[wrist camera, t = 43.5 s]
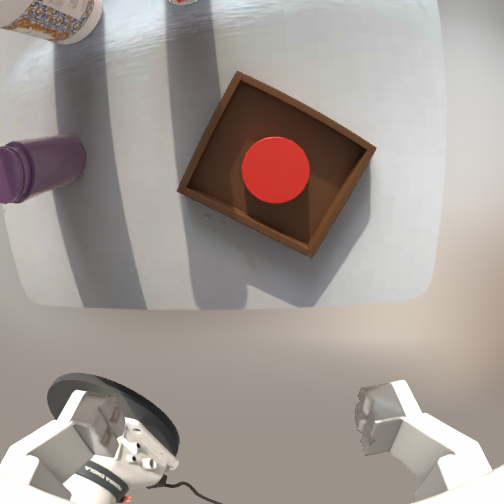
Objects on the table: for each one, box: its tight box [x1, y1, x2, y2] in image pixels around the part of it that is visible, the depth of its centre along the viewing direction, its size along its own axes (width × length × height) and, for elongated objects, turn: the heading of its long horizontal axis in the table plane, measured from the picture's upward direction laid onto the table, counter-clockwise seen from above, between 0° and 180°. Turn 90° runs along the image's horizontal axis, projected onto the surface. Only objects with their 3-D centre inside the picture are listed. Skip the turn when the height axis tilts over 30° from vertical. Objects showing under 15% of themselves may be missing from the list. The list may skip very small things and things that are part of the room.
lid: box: [241, 136, 310, 203], centre depth 28 cm, size 6×6×2 cm
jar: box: [0, 134, 85, 204], centre depth 24 cm, size 6×6×11 cm
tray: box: [177, 71, 376, 258], centre depth 29 cm, size 14×12×2 cm
